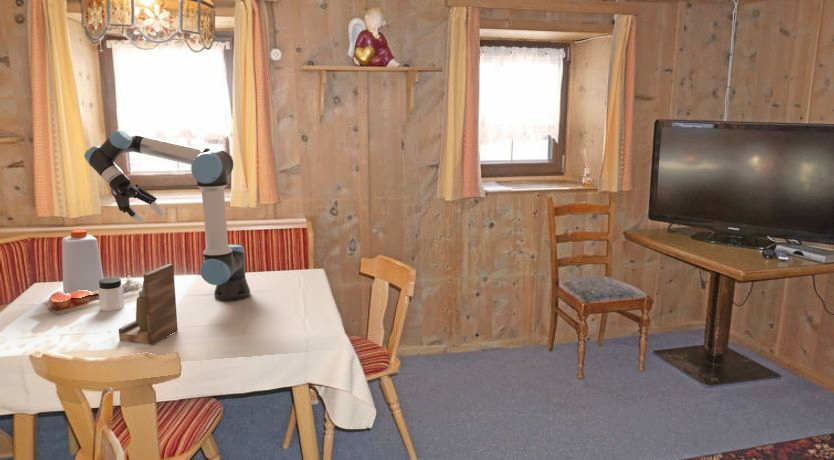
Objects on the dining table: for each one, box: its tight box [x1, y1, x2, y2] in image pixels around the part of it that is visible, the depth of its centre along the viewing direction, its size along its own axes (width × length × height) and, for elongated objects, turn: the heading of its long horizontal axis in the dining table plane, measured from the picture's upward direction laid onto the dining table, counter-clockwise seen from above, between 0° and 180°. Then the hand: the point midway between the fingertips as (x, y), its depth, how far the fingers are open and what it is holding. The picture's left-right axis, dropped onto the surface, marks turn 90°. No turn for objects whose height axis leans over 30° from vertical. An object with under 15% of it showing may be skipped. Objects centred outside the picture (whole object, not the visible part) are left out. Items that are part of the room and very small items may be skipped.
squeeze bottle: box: [135, 280, 148, 331], centre depth 222 cm, size 8×8×18 cm
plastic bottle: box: [61, 229, 105, 294], centre depth 268 cm, size 15×15×28 cm
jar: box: [98, 276, 125, 312], centre depth 251 cm, size 9×8×12 cm
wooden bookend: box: [118, 263, 179, 346], centre depth 222 cm, size 14×14×26 cm
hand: (151, 218), depth 247 cm, fingers open, 13 cm apart
